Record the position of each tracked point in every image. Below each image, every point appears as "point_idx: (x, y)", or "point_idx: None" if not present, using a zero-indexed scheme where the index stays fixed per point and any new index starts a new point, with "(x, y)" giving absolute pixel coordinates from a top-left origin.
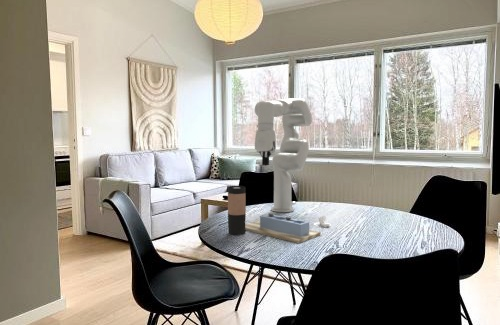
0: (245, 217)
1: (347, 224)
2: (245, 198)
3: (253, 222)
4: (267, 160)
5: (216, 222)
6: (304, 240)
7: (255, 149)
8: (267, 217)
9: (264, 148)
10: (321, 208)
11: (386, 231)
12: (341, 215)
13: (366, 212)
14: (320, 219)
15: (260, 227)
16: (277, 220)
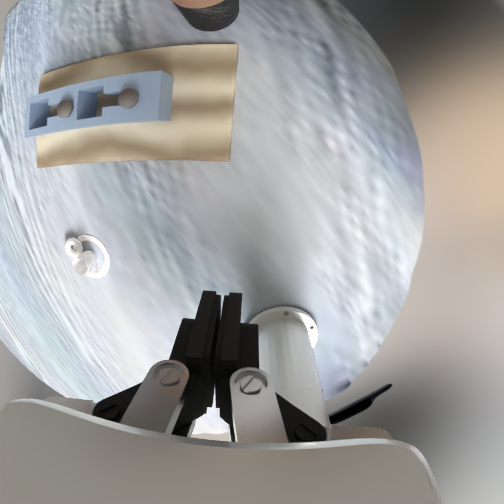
0: (177, 7)
1: (64, 292)
2: None
3: (232, 108)
4: (176, 346)
5: (358, 69)
6: None
7: (402, 442)
8: (129, 75)
9: (96, 458)
10: None
11: (10, 282)
12: (127, 358)
13: None
14: (81, 255)
15: (170, 75)
16: (90, 81)
